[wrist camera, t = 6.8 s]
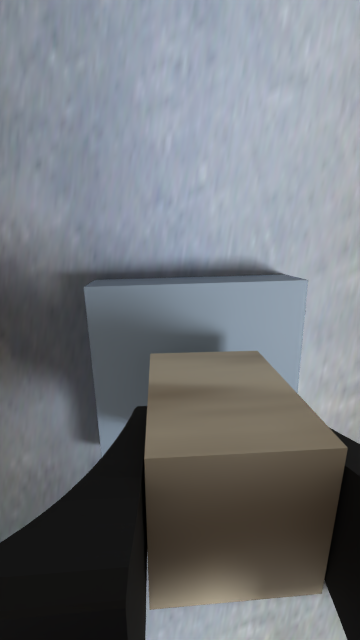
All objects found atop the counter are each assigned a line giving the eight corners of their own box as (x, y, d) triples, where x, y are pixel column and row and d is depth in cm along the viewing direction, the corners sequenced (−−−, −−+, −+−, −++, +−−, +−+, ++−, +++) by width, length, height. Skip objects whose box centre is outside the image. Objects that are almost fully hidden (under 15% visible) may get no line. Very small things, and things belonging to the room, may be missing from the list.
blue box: (269, 430, 19) (290, 464, 16) (112, 440, 18) (103, 478, 15) (280, 273, 16) (307, 280, 13) (97, 278, 15) (83, 286, 12)
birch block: (250, 442, 13) (321, 593, 8) (152, 447, 13) (149, 609, 7) (257, 350, 12) (348, 447, 6) (150, 353, 12) (144, 458, 6)
